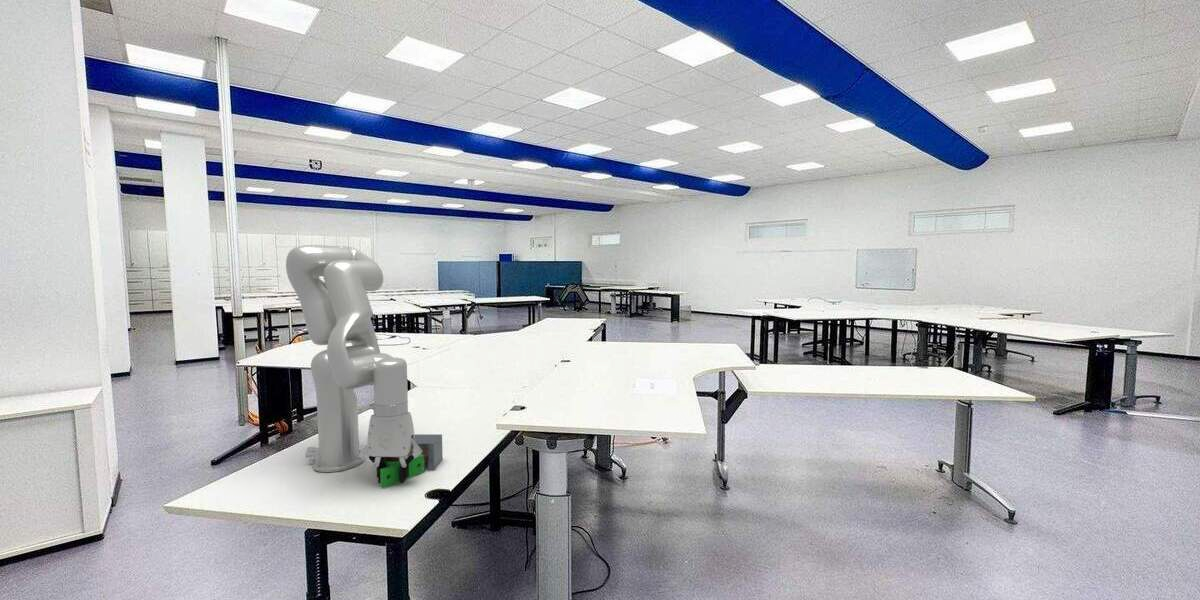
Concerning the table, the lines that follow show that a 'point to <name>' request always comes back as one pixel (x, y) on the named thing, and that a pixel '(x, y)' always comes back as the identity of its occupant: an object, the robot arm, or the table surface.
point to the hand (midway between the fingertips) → (393, 479)
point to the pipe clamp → (391, 470)
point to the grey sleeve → (427, 450)
